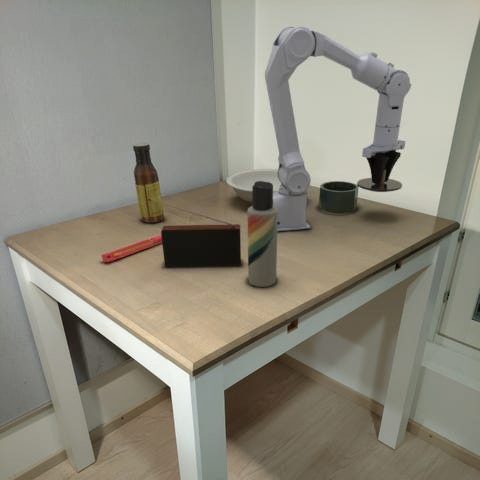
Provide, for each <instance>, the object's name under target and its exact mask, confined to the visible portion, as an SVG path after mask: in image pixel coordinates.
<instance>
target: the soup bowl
mask: <svg viewBox="0 0 480 480" xmlns="http://www.w3.org/2000/svg"><path fill="white" fill-rule="evenodd" d="M277 172H278V168H259V169H258V168H257V169H248V170H243V171H239V172H236V173H233V174H231V175H229V176H228V177H227V178H226V180H225V182H226V184H227V186H229V187H230V188H232V190H233V191H234V193H235V194H236V195H237V196H238V197H239V198H241V199H242V200H244V201H245V202H248V203H251V204H252V186H253V185H254V183H255V182H257V181H264V182H270V183H272V184H273V193H274V192H277V191H279V187H280V185H281V182H280V181H279V179H278V176H277Z"/></svg>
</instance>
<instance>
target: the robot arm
mask: <svg viewBox="0 0 480 480" xmlns="http://www.w3.org/2000/svg"><path fill="white" fill-rule="evenodd" d="M310 57H313V58H315V57H316V58H317V57H324V58H326V59H327V60H330V61H332V62H334V63H336V64H338V65H341V66H342V67H344V68H346V69H349V71H350V72H351V76H352V79H354V80H355V81H357V82H359V83H361V84H362V85H364V86H367V87H369V88H371V89H373V90H374V91H377V94H378V101H377V108H376V116H375V125H374V133H373V140H372V141H373V142H372V143H371V144H370V145H367V146H366V147H363V148H362V153H361V157H362V158H366V160H367V162H368V166H369V170H370V178H372V183H375V184H380V183H381V180H382V176H383V171H384V168H385V169H386V176H385V182H387V181H388V179H390V176H391V174H392V171H393V168H394V167H395V165H396V163H397V161H399V159H400V158H401V156H402V155H401V154H402V152H399V151H400V150H404V149H405V147H406V140H402V139H399V134H400V127H401V120H402V114H403V108H404V102H405V97H406V96H407V94H408V93H409V92H410V90H411V89H412V83H411V81H410V76H409V74H408V73H407V72H406V71H405V70H402V69H395V64H394V63H392V62H389V63H388V62H385V61H383V60H382V59H380V58H378V54H377V53H376V52H375V51H370V52H367V51H366V52H363V53H361V54H357V53H356V52H354V51H352V50H351V49H349V48H347V47H345V46H344V45H342V44H341V43H339V42H338V41H336V40H334V39H332V38H331V37H329V36H328V35H325V34H323V33H321V32H319V31H315V30H310V29H309V28H307V27H306V26H302V25H301V26H296V27H295V26H288V27H285V28H283V29H282V30H280V32H279V34H278V35H277V36H276V38H274V40H273V42H272V46H271V51H270V55H269V58H268V61H267V65H266V68H265V71H264V80H265V85H266V90H267V96H268V101H269V106H270V111H271V118H272V122H273V123H272V124H273V127H274V133H275V138H276V145H277V149H278V159H277V161H278V168H277V169H278V172H277V176H278V179H279V181H280V182H281V185H280V187H279V191H277V192H274V193H273V206H274V207H276V208H277V210H278V224H277V232H286V231H299V230H301V231H302V230H310V228H311V225H310V224H309V223H308V222H307V203H308V189H309V188H310V185H311V183H312V182H311V175H310V173H309V172H308V170H307V169H306V166H305V162H304V159H303V156H302V152H301V150H300V143H299V139H298V133H297V126H296V121H295V120H296V119H295V114H294V107H293V102H292V96H291V95H292V94H291V89H290V84H289V80H290V79H291V77H292V75H293V74H294V73H295V71H296V70H297V68H298V67H299V66H300V65H301V64H303V63H304V62H306V61H307V60H309V58H310Z"/></svg>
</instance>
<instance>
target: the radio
mask: <svg viewBox="0 0 480 480" xmlns="http://www.w3.org/2000/svg"><path fill="white" fill-rule="evenodd" d="M148 200H149V201H153V200H151V199H148ZM153 202H156V201H153ZM157 203H159V202H157ZM160 204H163V205H164V206H166V207H170V208H174V209H177V210H180V211H183V212H186V213H190V214H193V215H196V216H200V217H203V218H205V219H209V220H213V221H216V222H219V223H222V224H189V225H188V224H184V225H183V224H179V225H163V226H162V228H161V231H160V234H161V236H162V243H161V244H162V253H163V261H164V267H165V268H213V267H215V268H217V267H218V268H219V267H240V266H241V265H242V250H241V247H242V245H241V241H242V240H241V225H240V224H238V223H237V224H235V223H234V224H233V223H230V222H226V221H223V220H220V219H217V218H213V217H211V216H206V215H203V214H199V213H197V212H193V211H189V210H186V209H183V208H181V207H177V206H173V205H169V204H166V203H163V202H162V203H160Z"/></svg>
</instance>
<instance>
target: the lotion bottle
mask: <svg viewBox="0 0 480 480" xmlns="http://www.w3.org/2000/svg"><path fill="white" fill-rule="evenodd" d="M251 204H252V205H251V206H250V207H248V208H247V275H248V282H249V284H250V285H251V286H253V287H257V288H258V287H259V288H267V287H271V286H273V285H274V284H276V281H277V266H278V264H277V263H278V260H277V259H278V231H277V224H278V210H277V208H276V207H274V206H273V184H272V183H270V182H264V181H257V182H255V183H254V185H253V186H252V203H251Z"/></svg>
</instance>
